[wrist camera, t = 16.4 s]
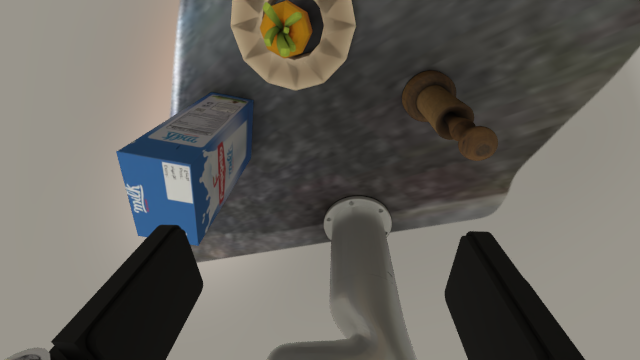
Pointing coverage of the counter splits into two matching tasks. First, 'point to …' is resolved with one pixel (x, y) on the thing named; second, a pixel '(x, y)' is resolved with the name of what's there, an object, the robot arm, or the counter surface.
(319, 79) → the faceted beige ring
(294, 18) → the carrot
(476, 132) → the brown tall rounded piece
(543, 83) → the counter surface
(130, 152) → the milk carton
